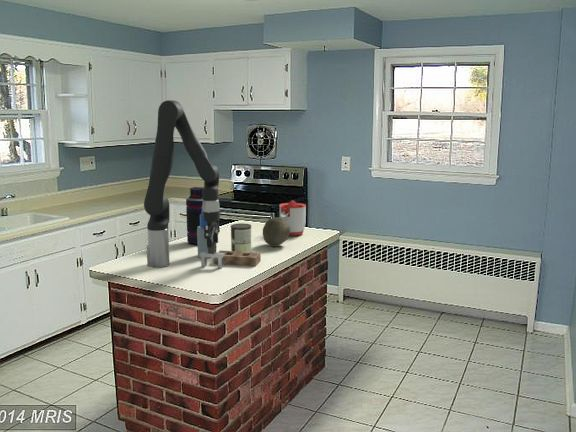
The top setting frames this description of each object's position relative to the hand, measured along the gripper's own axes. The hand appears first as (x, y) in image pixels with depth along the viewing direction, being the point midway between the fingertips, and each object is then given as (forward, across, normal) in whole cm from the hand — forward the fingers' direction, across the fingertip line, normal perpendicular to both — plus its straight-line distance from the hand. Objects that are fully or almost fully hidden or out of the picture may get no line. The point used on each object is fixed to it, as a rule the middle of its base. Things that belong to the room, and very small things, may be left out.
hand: (212, 245), depth 248 cm
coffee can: (+11, -27, +6) cm, 30 cm away
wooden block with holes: (+10, -10, +8) cm, 17 cm away
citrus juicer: (+11, -73, +22) cm, 77 cm away
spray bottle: (+10, -18, -10) cm, 23 cm away
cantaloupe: (+11, -45, +19) cm, 50 cm away
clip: (+10, 0, 0) cm, 10 cm away
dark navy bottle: (+10, -43, -23) cm, 50 cm away
